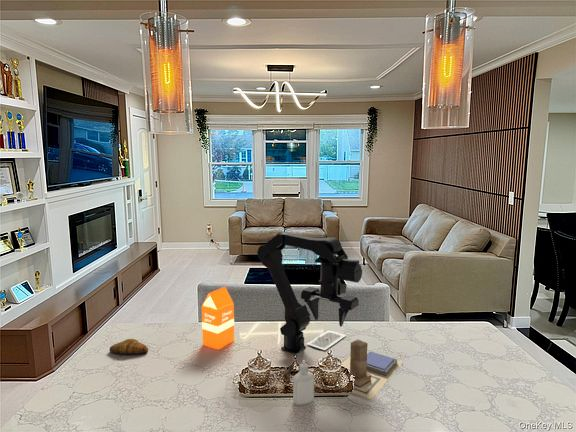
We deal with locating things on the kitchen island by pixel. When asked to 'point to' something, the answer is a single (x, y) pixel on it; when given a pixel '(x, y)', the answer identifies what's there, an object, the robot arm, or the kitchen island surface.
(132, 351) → the croissant
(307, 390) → the eye dropper bottle
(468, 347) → the kitchen island surface
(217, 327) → the orange juice
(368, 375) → the walnut stamp
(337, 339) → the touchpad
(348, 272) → the robot arm
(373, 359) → the ink pad
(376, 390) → the board
